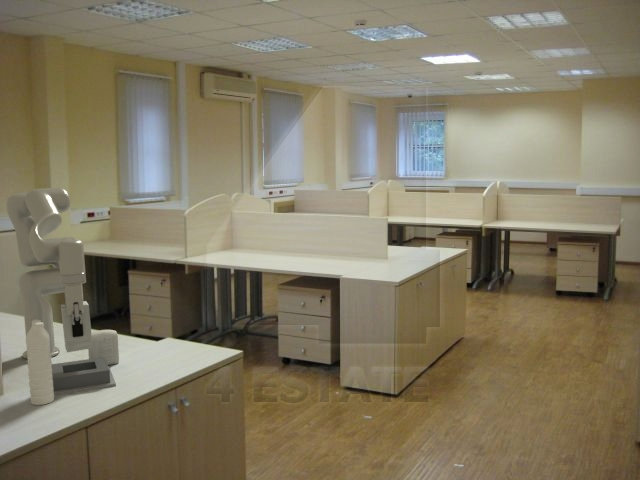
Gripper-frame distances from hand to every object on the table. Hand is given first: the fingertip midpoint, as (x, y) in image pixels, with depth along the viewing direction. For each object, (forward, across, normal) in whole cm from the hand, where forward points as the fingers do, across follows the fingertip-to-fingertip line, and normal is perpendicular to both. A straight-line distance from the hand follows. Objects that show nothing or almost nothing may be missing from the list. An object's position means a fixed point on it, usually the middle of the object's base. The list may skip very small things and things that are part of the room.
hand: (77, 333), depth 209 cm
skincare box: (+5, 0, 0) cm, 5 cm away
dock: (+16, 0, 0) cm, 16 cm away
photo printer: (+16, -15, +9) cm, 24 cm away
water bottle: (+17, +13, -12) cm, 24 cm away
